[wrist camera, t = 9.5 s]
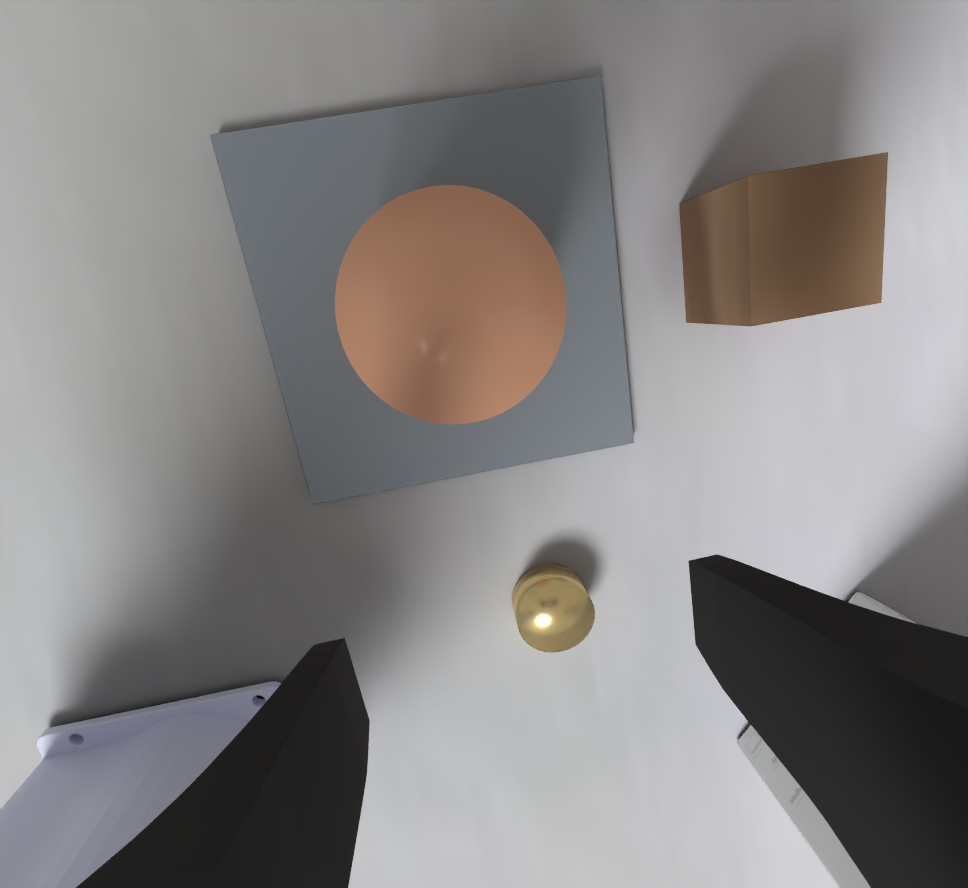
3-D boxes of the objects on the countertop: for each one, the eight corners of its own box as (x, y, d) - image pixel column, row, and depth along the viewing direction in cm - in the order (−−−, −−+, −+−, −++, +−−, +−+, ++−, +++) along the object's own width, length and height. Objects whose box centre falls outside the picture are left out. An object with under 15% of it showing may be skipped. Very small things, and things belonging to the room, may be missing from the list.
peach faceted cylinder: (382, 406, 18) (365, 443, 13) (344, 236, 16) (307, 206, 11) (539, 377, 18) (579, 402, 13) (515, 207, 17) (550, 166, 12)
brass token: (517, 634, 21) (524, 659, 20) (505, 571, 21) (511, 593, 19) (587, 618, 22) (599, 642, 20) (577, 555, 21) (589, 575, 19)
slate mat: (315, 500, 19) (312, 504, 18) (215, 139, 16) (209, 134, 15) (629, 440, 19) (634, 442, 19) (596, 80, 16) (600, 75, 16)
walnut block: (685, 322, 19) (751, 326, 15) (678, 204, 18) (747, 175, 14) (789, 303, 19) (880, 302, 15) (788, 185, 18) (887, 152, 14)
